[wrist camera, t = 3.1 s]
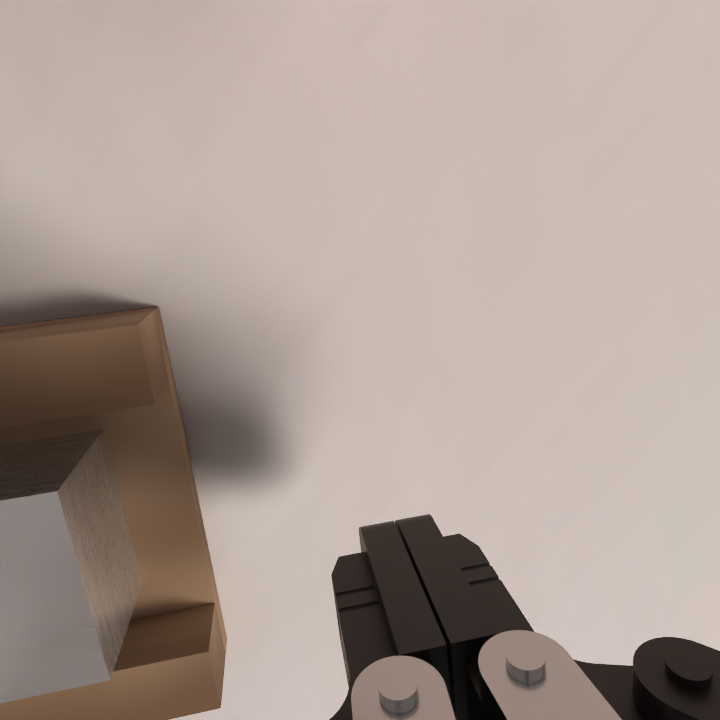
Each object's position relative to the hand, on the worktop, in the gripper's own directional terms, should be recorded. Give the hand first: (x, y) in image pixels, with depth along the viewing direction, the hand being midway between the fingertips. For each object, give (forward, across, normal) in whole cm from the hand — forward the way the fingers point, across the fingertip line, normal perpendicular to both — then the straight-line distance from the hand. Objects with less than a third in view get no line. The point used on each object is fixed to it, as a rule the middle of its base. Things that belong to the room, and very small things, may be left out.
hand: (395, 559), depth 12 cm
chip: (+4, +8, 0) cm, 9 cm away
